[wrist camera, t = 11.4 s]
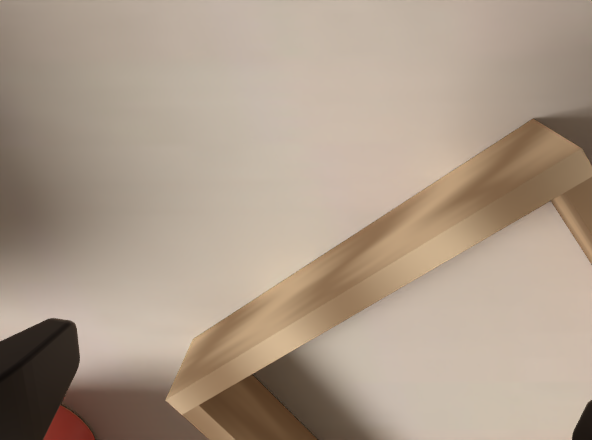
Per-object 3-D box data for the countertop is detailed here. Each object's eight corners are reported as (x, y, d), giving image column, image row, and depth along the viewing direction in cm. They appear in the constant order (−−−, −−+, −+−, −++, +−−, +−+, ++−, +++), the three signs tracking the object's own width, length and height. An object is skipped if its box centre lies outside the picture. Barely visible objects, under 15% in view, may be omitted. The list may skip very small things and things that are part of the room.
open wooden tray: (533, 118, 18) (581, 148, 14) (717, 417, 23) (788, 496, 19) (193, 339, 24) (165, 400, 20) (397, 538, 28) (405, 616, 25)
